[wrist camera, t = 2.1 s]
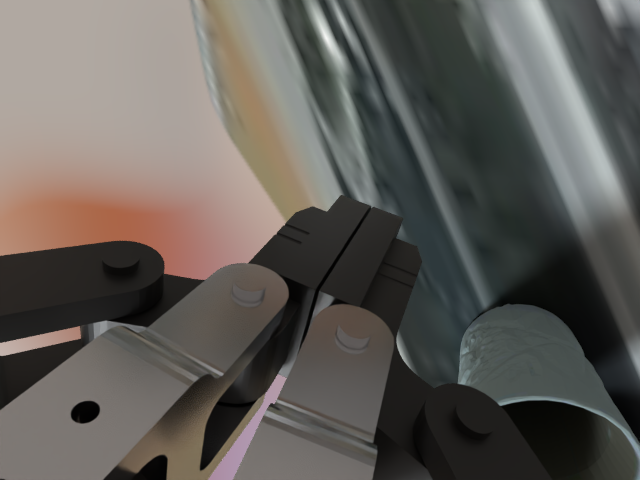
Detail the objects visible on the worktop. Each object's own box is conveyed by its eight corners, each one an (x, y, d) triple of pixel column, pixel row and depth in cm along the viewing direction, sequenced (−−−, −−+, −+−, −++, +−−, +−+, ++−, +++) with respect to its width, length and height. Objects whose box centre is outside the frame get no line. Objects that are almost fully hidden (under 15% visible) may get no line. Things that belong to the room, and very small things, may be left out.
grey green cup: (432, 318, 39) (421, 422, 28) (561, 273, 35) (607, 374, 24) (485, 416, 41) (494, 548, 30) (613, 384, 37) (677, 523, 26)
